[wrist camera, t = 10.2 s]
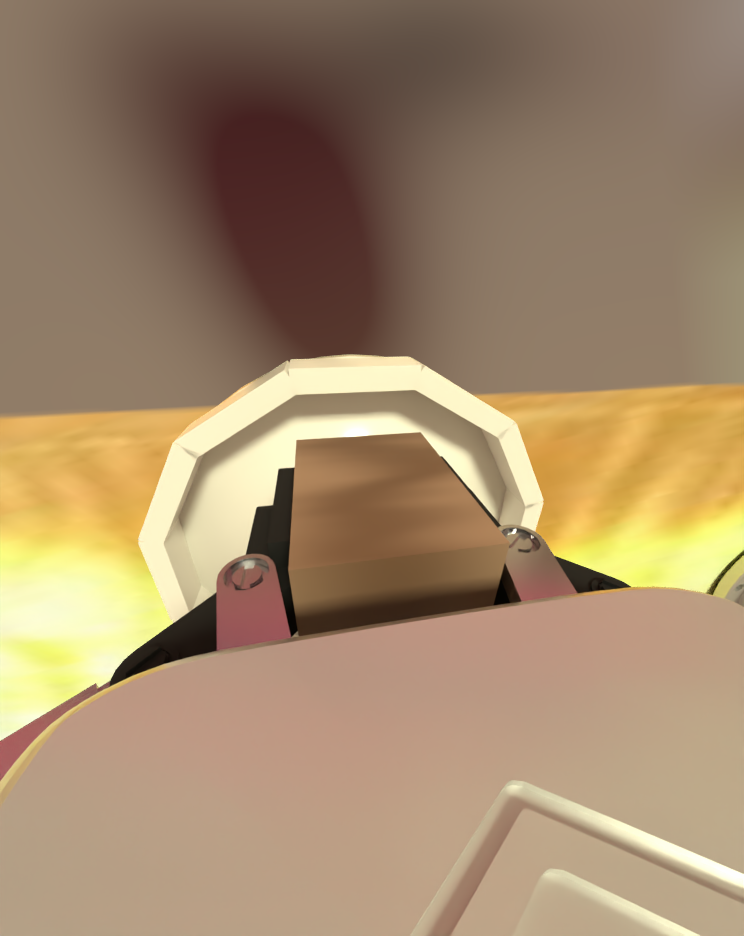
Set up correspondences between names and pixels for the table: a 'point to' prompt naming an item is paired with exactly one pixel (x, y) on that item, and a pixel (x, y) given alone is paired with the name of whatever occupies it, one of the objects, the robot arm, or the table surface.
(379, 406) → the dish
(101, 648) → the table surface
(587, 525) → the table surface
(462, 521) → the wooden brick
